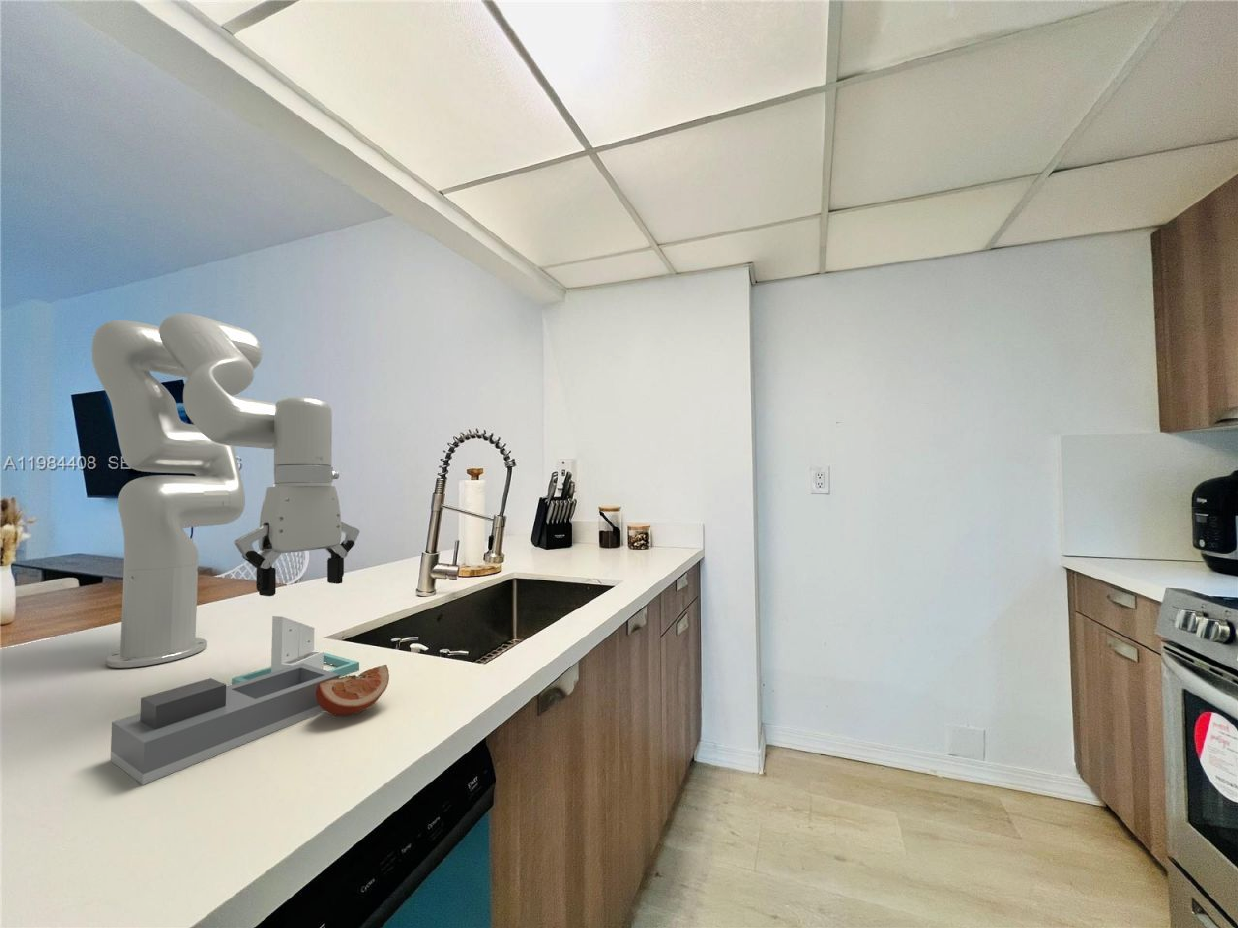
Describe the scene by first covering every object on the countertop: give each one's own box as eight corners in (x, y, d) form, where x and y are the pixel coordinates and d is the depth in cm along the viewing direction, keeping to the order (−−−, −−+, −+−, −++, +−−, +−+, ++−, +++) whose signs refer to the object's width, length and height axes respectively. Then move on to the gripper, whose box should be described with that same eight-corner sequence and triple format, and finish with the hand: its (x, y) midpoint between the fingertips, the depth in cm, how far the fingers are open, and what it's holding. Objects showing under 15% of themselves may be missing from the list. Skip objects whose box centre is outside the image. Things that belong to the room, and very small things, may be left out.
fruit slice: (375, 694, 66) (376, 658, 66) (399, 707, 62) (399, 668, 62) (307, 717, 59) (308, 677, 59) (329, 734, 55) (330, 690, 55)
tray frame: (231, 686, 69) (232, 678, 69) (321, 658, 80) (321, 651, 80) (268, 701, 64) (269, 692, 64) (358, 669, 75) (359, 662, 75)
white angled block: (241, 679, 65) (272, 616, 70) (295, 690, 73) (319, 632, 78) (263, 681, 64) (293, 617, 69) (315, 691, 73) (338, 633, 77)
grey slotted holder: (110, 760, 50) (113, 698, 50) (301, 691, 67) (302, 645, 67) (142, 784, 46) (145, 717, 46) (338, 705, 62) (339, 656, 63)
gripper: (344, 479, 83) (344, 577, 82) (224, 478, 68) (222, 599, 67) (370, 477, 79) (371, 580, 78) (250, 475, 64) (249, 603, 63)
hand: (302, 588), depth 72 cm, fingers open, 9 cm apart
